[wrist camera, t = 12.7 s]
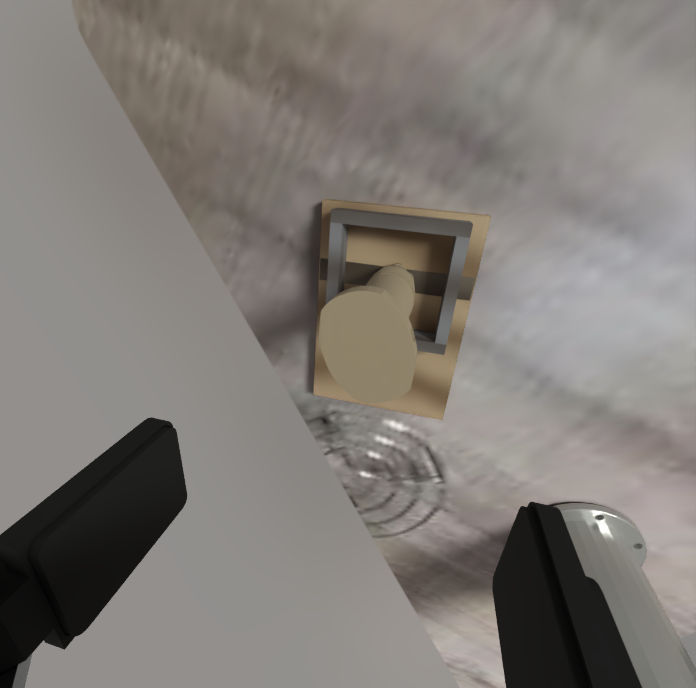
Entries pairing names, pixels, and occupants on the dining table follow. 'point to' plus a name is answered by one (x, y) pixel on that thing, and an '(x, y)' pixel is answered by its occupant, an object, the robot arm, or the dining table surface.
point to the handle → (372, 336)
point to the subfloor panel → (429, 280)
